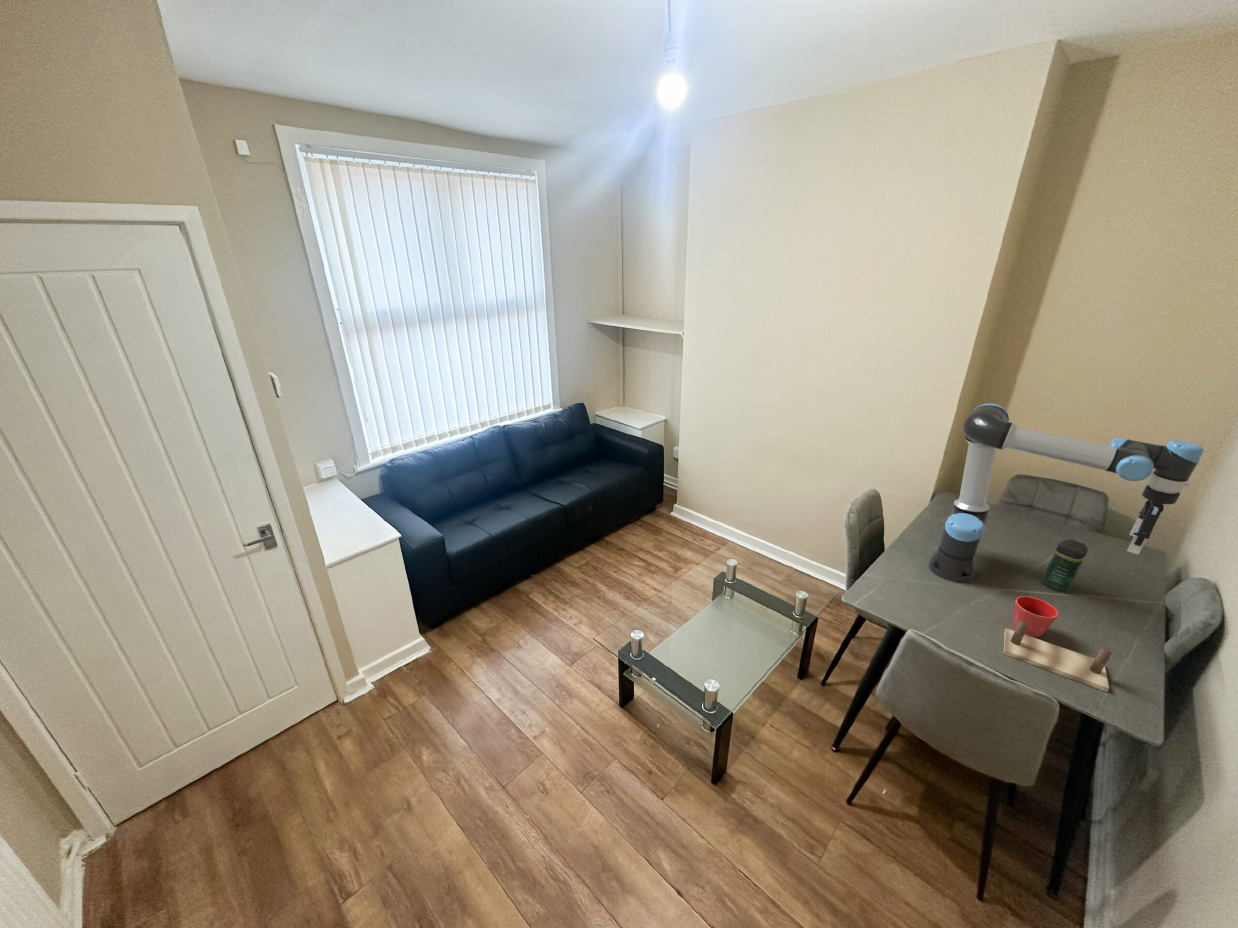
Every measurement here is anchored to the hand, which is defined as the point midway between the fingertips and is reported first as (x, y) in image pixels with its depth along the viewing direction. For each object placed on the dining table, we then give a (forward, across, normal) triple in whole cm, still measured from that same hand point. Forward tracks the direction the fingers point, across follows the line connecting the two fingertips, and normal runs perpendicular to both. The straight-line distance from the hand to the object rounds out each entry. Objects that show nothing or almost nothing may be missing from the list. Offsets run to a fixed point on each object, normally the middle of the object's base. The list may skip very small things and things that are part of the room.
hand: (1133, 544), depth 158 cm
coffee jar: (+26, +2, +13) cm, 29 cm away
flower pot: (+26, -34, +16) cm, 46 cm away
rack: (+26, -45, +8) cm, 52 cm away
